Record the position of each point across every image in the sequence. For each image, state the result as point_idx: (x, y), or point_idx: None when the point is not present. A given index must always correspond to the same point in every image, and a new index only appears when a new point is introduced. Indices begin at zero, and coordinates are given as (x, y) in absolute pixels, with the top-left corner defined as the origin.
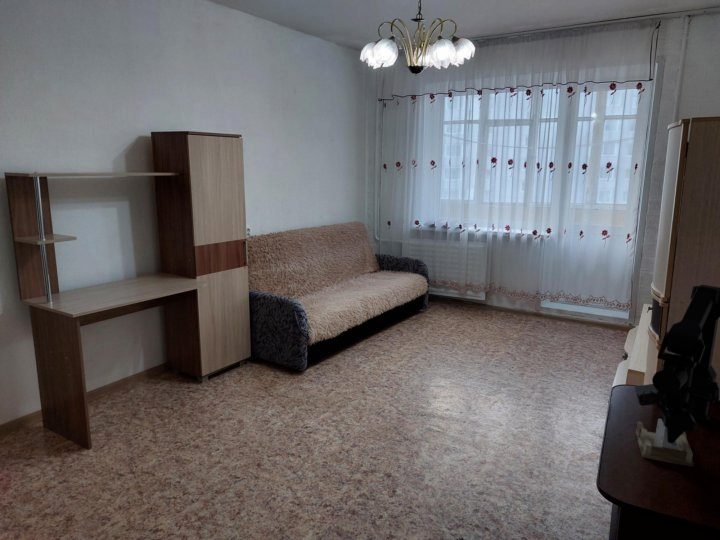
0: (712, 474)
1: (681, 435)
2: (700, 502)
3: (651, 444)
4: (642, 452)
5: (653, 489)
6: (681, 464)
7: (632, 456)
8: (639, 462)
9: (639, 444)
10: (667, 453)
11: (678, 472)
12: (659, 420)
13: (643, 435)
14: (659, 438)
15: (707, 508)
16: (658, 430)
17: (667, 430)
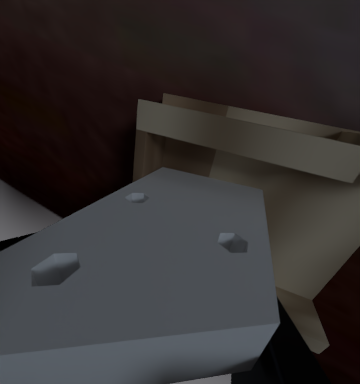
0: None
1: None
2: (23, 176)
3: (248, 168)
4: (172, 95)
5: (10, 72)
6: None
7: (169, 46)
8: (132, 69)
9: (264, 113)
10: None
11: (114, 187)
12: (222, 303)
13: (255, 124)
14: (183, 196)
15: (13, 180)
16: (215, 223)
17: (5, 246)
